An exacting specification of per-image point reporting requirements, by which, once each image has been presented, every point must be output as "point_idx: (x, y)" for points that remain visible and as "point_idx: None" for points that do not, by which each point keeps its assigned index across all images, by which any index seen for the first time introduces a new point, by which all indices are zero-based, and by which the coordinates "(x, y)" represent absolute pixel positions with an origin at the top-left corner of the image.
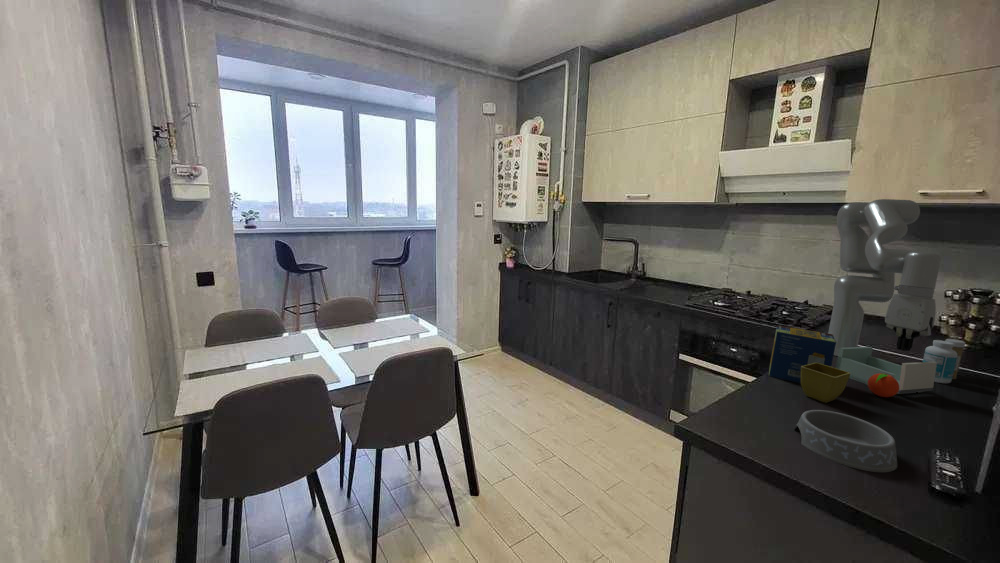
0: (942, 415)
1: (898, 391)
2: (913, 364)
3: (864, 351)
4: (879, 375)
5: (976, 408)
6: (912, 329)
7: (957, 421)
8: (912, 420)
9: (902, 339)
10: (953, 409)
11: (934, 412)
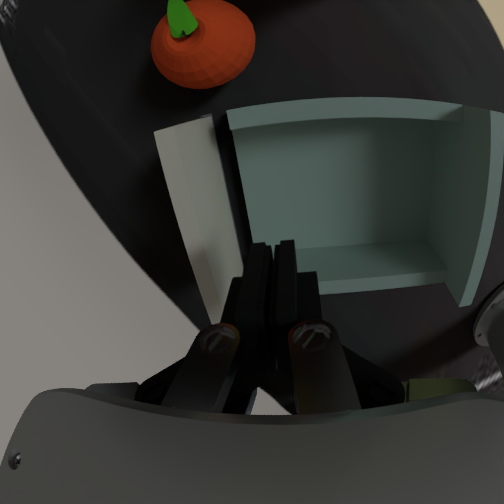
0: (101, 130)
1: (210, 114)
2: (170, 191)
3: (464, 256)
4: (183, 4)
5: (163, 279)
6: (97, 395)
7: (78, 138)
8: (77, 24)
9: (269, 308)
10: (142, 207)
11: (114, 124)
